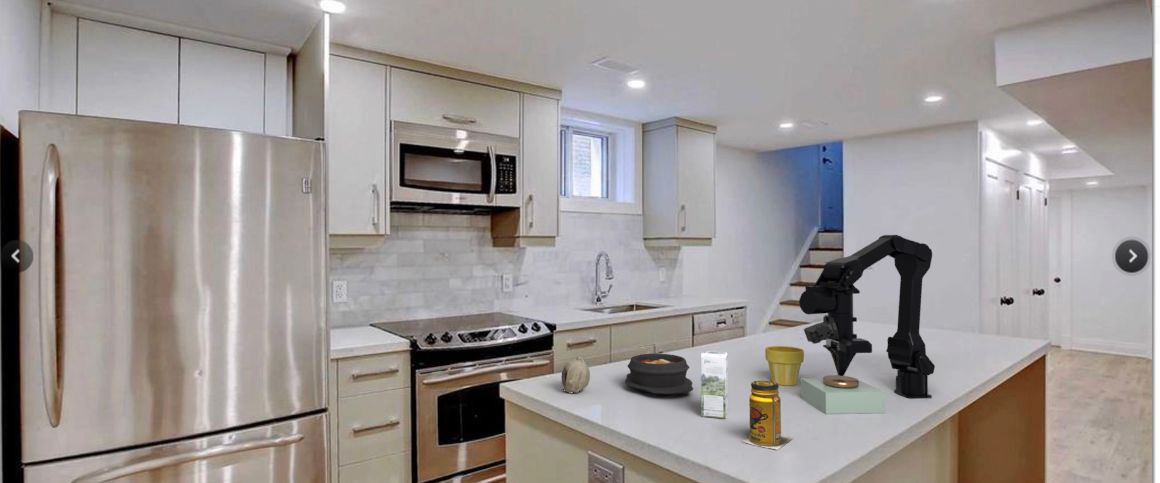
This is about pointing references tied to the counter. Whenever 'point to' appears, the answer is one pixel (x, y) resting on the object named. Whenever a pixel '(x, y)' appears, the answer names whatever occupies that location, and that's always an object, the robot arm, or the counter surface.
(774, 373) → the plant pot
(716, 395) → the syrup box
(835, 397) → the base
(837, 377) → the copper round dome
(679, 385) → the casserole
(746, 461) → the counter surface
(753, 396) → the condiment
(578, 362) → the garlic bulb
